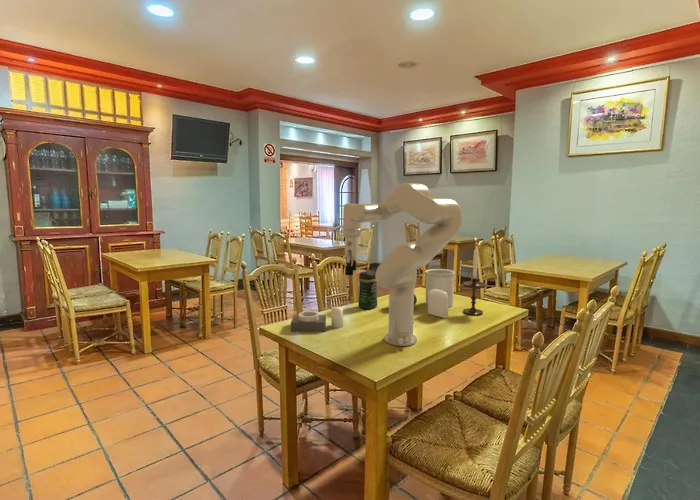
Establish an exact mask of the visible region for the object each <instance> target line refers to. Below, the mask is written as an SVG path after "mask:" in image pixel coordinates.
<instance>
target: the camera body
mask: <svg viewBox="0 0 700 500" xmlns="http://www.w3.org/2000/svg"><path fill="white" fill-rule="evenodd" d="M326 325H327V315H326V314H320V313H319V312H318V311H313V310H312V311H311V310H308V311H307V310H305V311H300V312H299V313H298V314H294V315H293V317H292V319H291V320H290V332H291V333H294V332H295V333H297V332H296V331H308V332H307V333H317V332H319V333H323V332H326Z"/></svg>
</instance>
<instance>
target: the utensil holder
mask: <svg viewBox="0 0 700 500" xmlns="http://www.w3.org/2000/svg"><path fill="white" fill-rule="evenodd" d="M424 274H425V304H426V306H428V293H429V291H430V290H433V289H438V290H442V291H444V292H446V293H447V294H448V296H449V301H448V308H450V307H453V304H454V294H455V293H454V292H455V291H454V286H455V283H454V282H455V271H454V270H452V269H446V268H434V269H433V268H432V269H430V268H429V269H426V270H425V271H424Z"/></svg>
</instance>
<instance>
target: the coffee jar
mask: <svg viewBox="0 0 700 500" xmlns="http://www.w3.org/2000/svg"><path fill="white" fill-rule="evenodd" d="M375 275H376V270H372V269H371V270H370V269H369V270H367V271H366V270H365V271H362V272H360V273H359V275H358V281H359V292H358V293H359V294H358V308H360V309H362V308H363V310H365V309H366V310H371V309H374V308H376V307H378V295H377V294H378V289H377V285H378V283H377V282H376V277H375Z"/></svg>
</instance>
